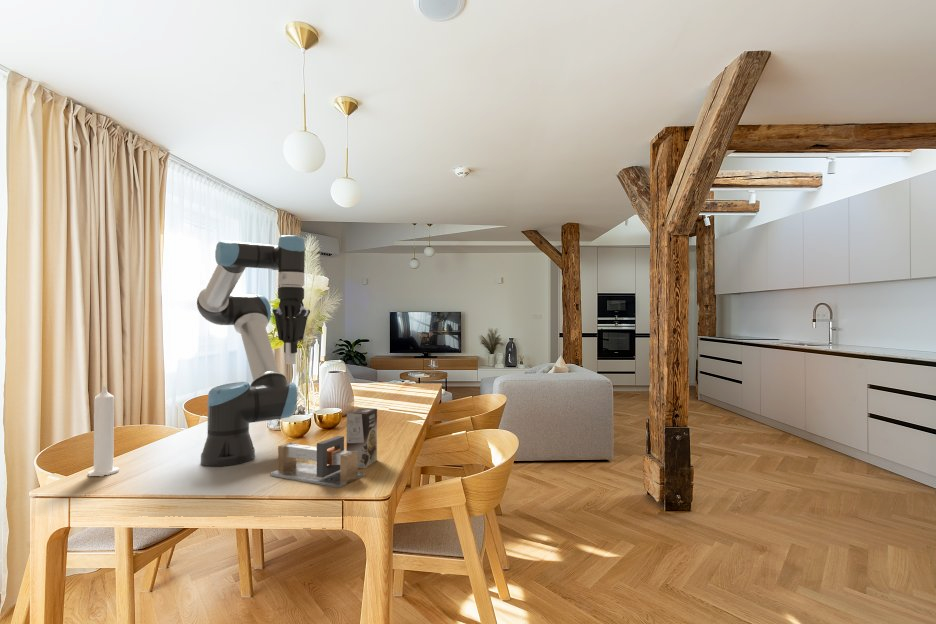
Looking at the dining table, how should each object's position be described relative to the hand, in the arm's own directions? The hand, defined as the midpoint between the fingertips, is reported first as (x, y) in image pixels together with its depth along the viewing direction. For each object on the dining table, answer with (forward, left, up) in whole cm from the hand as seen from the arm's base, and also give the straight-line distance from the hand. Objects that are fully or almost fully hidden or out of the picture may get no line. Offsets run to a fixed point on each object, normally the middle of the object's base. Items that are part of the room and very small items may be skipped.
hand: (290, 363), depth 149 cm
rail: (+16, -6, -30) cm, 35 cm away
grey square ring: (+21, -6, -29) cm, 36 cm away
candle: (-41, -29, -30) cm, 59 cm away
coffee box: (+21, +8, -30) cm, 38 cm away
